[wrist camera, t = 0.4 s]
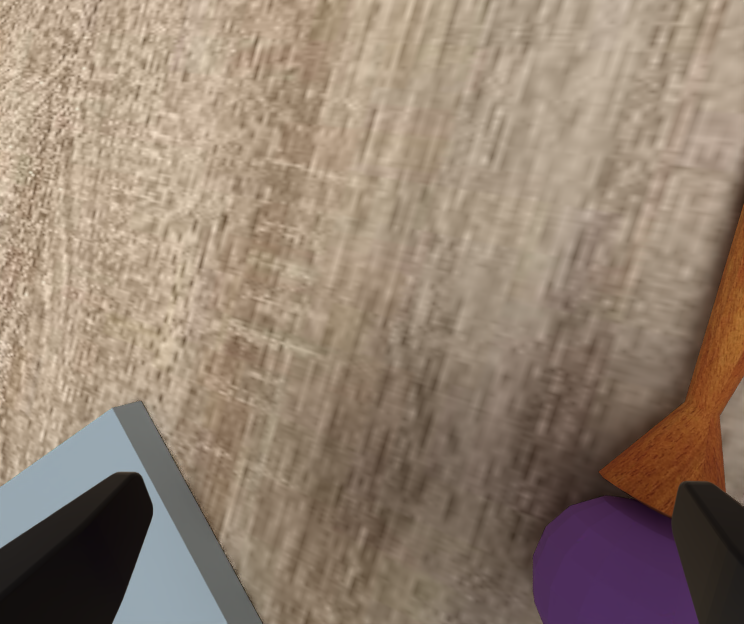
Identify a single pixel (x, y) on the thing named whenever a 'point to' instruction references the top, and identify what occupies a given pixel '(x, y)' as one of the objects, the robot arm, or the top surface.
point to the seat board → (166, 531)
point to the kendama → (647, 495)
